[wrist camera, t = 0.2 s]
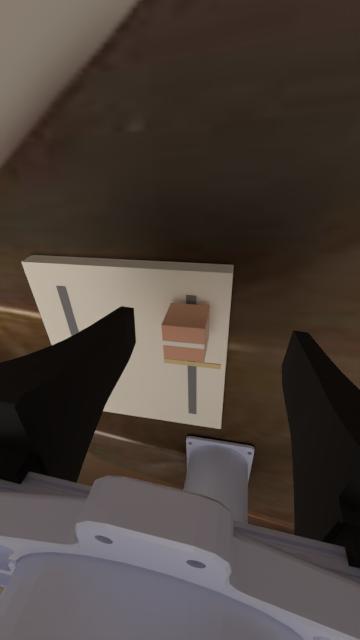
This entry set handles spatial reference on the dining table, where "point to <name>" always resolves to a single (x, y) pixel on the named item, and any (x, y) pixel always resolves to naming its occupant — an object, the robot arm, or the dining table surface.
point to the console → (143, 327)
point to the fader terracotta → (186, 332)
